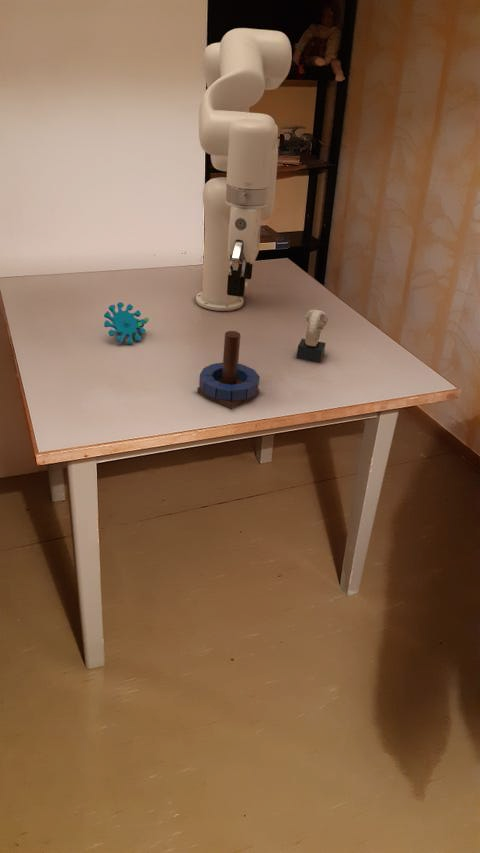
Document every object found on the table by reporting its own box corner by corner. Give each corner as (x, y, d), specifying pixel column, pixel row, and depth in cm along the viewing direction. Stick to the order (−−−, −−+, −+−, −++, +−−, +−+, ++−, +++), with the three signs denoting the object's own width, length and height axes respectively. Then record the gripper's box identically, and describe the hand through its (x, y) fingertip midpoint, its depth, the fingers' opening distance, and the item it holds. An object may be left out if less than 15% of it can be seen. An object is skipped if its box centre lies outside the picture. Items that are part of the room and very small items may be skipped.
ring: (226, 367, 143) (227, 357, 142) (269, 387, 137) (270, 376, 136) (188, 385, 135) (188, 374, 134) (232, 407, 129) (232, 396, 128)
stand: (225, 378, 141) (229, 320, 134) (259, 393, 137) (265, 334, 130) (197, 393, 135) (199, 333, 128) (231, 409, 131) (236, 348, 124)
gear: (111, 343, 148) (101, 301, 149) (101, 352, 153) (92, 312, 154) (155, 340, 154) (145, 300, 156) (145, 350, 159) (135, 311, 160)
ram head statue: (325, 351, 156) (332, 307, 150) (318, 366, 150) (325, 320, 144) (301, 347, 157) (307, 303, 151) (294, 361, 151) (300, 315, 145)
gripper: (261, 209, 112) (252, 305, 121) (272, 187, 127) (264, 274, 136) (217, 204, 113) (211, 300, 122) (233, 182, 127) (227, 269, 136)
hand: (239, 286), depth 129 cm, fingers open, 9 cm apart
